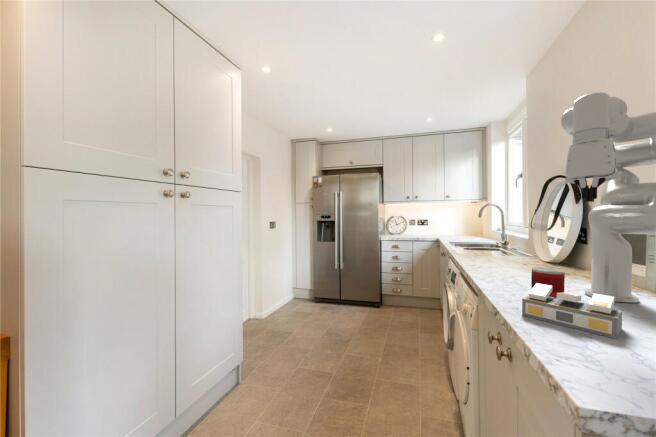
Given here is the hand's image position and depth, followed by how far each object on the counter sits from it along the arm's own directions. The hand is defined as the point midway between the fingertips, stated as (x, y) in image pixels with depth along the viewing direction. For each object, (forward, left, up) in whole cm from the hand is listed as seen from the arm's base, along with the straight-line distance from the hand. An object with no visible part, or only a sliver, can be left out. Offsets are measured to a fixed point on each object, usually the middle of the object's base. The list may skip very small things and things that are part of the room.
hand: (589, 201), depth 77 cm
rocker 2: (+15, -1, -26) cm, 30 cm away
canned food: (+2, -9, -32) cm, 34 cm away
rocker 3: (+15, +5, -26) cm, 30 cm away
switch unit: (+15, -1, -32) cm, 35 cm away
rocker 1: (+15, -7, -26) cm, 31 cm away
